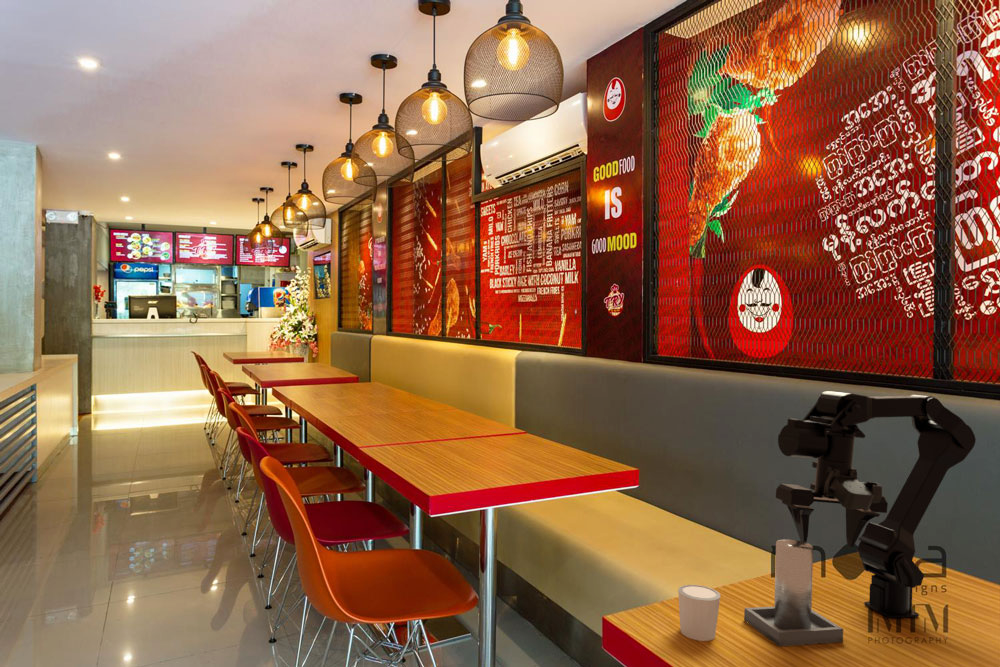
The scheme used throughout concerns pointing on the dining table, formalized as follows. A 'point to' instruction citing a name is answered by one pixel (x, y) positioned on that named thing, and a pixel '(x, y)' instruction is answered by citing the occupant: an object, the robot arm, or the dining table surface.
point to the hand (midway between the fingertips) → (826, 545)
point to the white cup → (698, 611)
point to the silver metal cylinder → (793, 585)
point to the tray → (818, 633)
